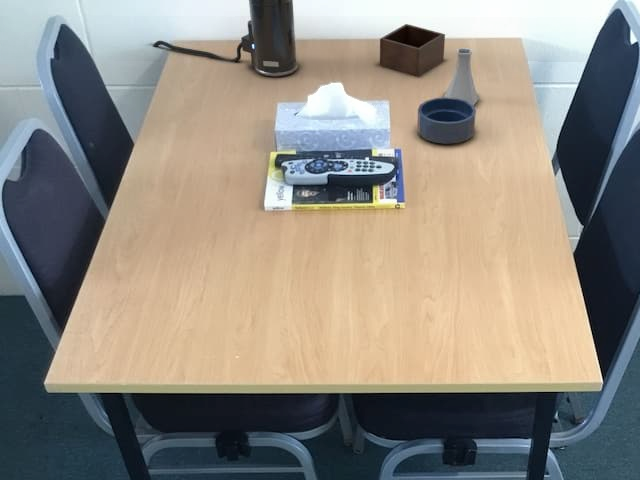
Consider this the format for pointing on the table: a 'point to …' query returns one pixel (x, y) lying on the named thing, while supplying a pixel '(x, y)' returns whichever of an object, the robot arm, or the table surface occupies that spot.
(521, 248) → the table surface
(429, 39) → the box
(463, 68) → the flask
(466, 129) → the bowl
